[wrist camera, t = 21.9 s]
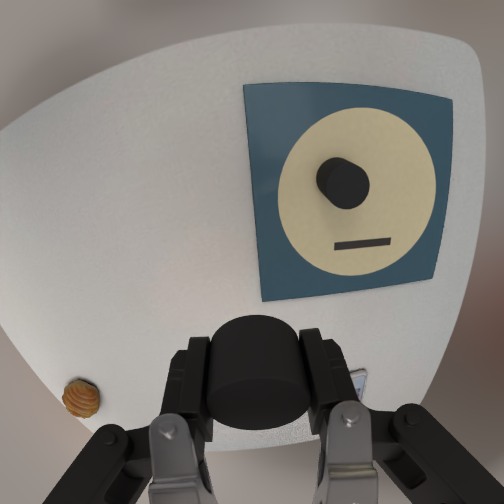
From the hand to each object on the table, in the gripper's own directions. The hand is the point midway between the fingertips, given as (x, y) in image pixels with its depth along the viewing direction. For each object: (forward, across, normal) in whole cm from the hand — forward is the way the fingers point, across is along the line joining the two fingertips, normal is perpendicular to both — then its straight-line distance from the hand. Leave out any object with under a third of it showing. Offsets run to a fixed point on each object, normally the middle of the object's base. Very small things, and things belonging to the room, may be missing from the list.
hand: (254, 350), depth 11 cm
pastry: (+16, +30, +27) cm, 43 cm away
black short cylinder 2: (+15, -8, -3) cm, 17 cm away
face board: (+15, -11, -1) cm, 19 cm away
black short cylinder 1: (0, 0, 0) cm, 0 cm away
